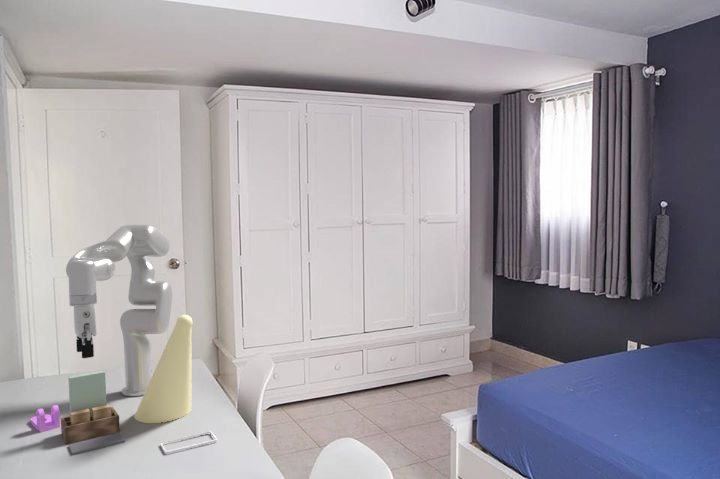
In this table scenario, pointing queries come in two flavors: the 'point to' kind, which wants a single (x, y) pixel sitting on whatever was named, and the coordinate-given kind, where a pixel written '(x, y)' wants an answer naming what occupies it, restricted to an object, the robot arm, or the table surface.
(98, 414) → the oak offcut
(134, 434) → the table surface
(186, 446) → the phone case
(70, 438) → the walnut rack
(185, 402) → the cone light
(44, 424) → the bracket
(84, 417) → the oak offcut
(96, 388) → the green board
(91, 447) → the charcoal mat
